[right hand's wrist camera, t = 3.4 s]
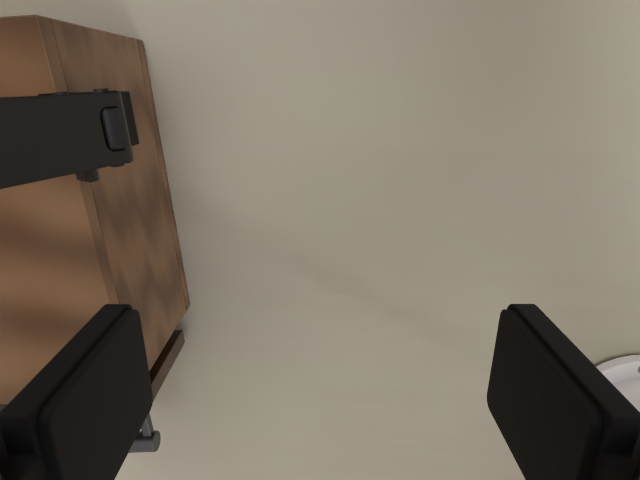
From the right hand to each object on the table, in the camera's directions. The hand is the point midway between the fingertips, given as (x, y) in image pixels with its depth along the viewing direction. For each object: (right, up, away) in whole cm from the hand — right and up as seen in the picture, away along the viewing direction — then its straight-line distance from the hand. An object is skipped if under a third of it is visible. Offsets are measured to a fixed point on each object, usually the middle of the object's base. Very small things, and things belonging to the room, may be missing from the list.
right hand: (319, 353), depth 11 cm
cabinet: (-17, +7, +21) cm, 27 cm away
